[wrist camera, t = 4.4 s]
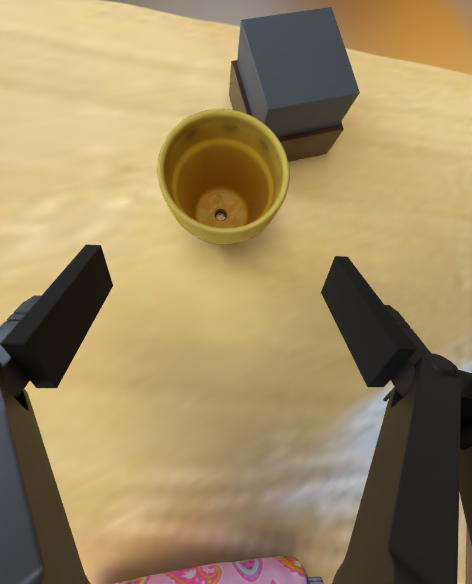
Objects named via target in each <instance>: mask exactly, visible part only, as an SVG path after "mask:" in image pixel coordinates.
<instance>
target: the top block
mask: <svg viewBox="0 0 472 584" xmlns="http://www.w3.org/2000/svg"><path fill="white" fill-rule="evenodd" d="M237 66H238V69H239V72H240V76H241V79H242V83H243V86H244V89H245V93H246V96H247V99H248V103H249V106H250V110H251V113H252V116H253V117H254V118H256V119H258V120H259V121H261V122H262V123H264V124H265V125H266V126H267V127H268V128H269V129H270V130H271V131H272V132H273V133H274V134H275V135H276V137H277V138H279V137H284V136H289V135H294V134H299V133H304V132H309V131H314V130H319V129H324V128H329V127H334V126H338V125H339V124H340V122H341V121H342V119H343V118H344V116H345V114H346V113H347V111H348V110H349V108H350V107H351V105H352V104H353V102H354V101H355V99H356V98H357V96H358V95H359V93H360V92H359V89H358V86H357V83H356V80H355V77H354V74H353V71H352V68H351V65H350V62H349V59H348V56H347V53H346V50H345V47H344V44H343V41H342V38H341V35H340V31H339V29H338V25H337V22H336V20H335V16H334V13H333V10H332V8H331V7H329V8H322V9H315V10H308V11H301V12H294V13H287V14H280V15H273V16H266V17H259V18H253V19H245V20H241V26H240V37H239V48H238V59H237Z"/></svg>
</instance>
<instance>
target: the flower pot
mask: <svg viewBox="0 0 472 584" xmlns="http://www.w3.org/2000/svg"><path fill="white" fill-rule="evenodd" d="M157 173H158V181H159V185H160V189H161V192H162V194H163V197H164V199H165V201H166V203H167V205H168V207H169V209H170V211H171V212H172V214H173V216H174V217H175V218H176V220H177V221H178V222H179V223H180V225H181V226H182V227H183V228H184V229H186V230H187V231H188V232H189V233H191V234H192V235H194V236H196V237H197V238H200V239H202V240H204V241H207V242H211V243H215V244H234V243H239V242H243V241H245V240H248V239H250V238H252V237H254V236H255V235H257V234H258V233H260V232H261V231H262V230H263V229H264V228H265V227H266V226H267V225H268V224H269V223H270V221H271V220H272V219H273V218H274V216H275V215H276V213H277V212H278V210H279V208H280V207H281V205H282V203H283V201H284V199H285V197H286V194H287V191H288V186H289V178H290V172H289V164H288V159H287V156H286V153H285V150H284V148H283V146H282V144H281V143H280V141H279V139H278V138H277V137H276V135H275V134H274V133H273V132H272V131H271V130H270V129H269V128H268V127H267V126H266V125H265V124H264V123H262V122H261V121H259V120H258V119H256V118H254V117H253V116H251V115H248V114H246V113H243V112H240V111H236V110H229V109H212V110H206V111H202V112H199V113H196V114H194V115H192V116H189V117H188V118H186V119H184V120H183V121H182V122H180V123H179V124H178V125H177V126H176V127H175V128H174V129H173V130H172V131H171V132H170V133H169V135H168V136H167V137H166V139H165V141H164V143H163V145H162V147H161V150H160V154H159V158H158V167H157ZM219 211H222V212H224V213H225V214H226V219H224V220H222V221H219V220H217V219H216V218H215V215H216V213H217V212H219Z"/></svg>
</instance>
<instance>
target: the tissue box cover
mask: <svg viewBox="0 0 472 584" xmlns="http://www.w3.org/2000/svg"><path fill="white" fill-rule="evenodd" d="M466 584H472V545H471V540H470V536H469V532H468V527H467V553H466Z"/></svg>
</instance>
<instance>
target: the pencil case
mask: <svg viewBox="0 0 472 584" xmlns="http://www.w3.org/2000/svg"><path fill="white" fill-rule="evenodd" d="M111 584H323V580H322V578H321V577H309V578H308V576H307V574H306V571H305V569H304V567H303V566H302V564H301V562H300V561H299V560H298V559H296V558H289V559H286V558H284V557H282V556H275V557H266V558H255V559H249V560H242V561H236V562H223V563H214V564H208V565H203V566H198V567H194V568H189V569H180V570H176V571H171V572H166V573H160V574H155V575H149V576H144V577H140V578H137V579H134V580H130V581H123V582H119V583H111Z"/></svg>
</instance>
